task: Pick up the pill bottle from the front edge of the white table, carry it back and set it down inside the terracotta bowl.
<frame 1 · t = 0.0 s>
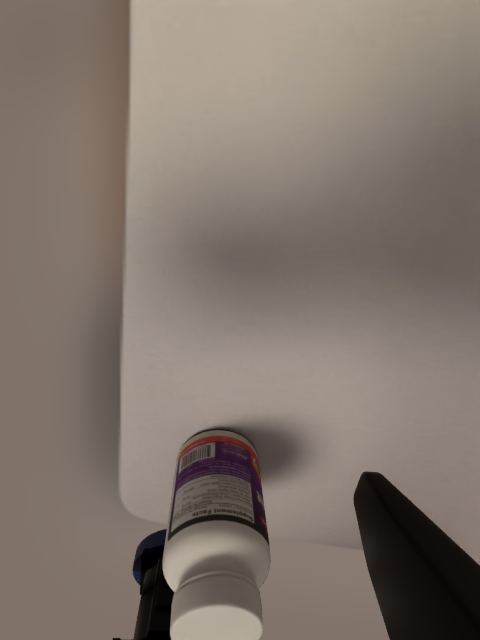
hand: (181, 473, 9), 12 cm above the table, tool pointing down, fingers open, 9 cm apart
pill bottle: (217, 456, 24), on the table
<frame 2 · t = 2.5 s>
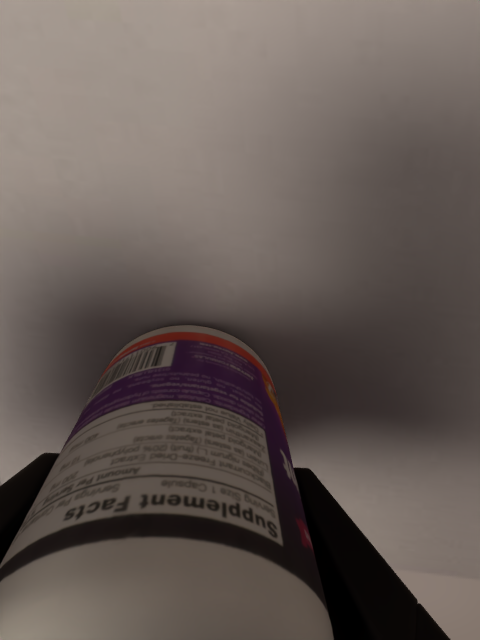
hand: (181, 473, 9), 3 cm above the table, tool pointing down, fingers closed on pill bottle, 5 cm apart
pill bottle: (191, 392, 12), on the table, touching gripper
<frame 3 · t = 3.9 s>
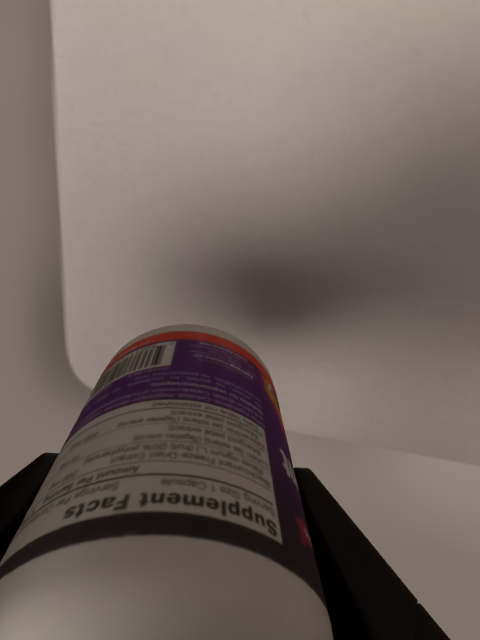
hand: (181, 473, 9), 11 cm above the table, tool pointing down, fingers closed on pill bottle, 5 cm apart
pill bottle: (190, 391, 12), point 8 cm above the table, touching gripper
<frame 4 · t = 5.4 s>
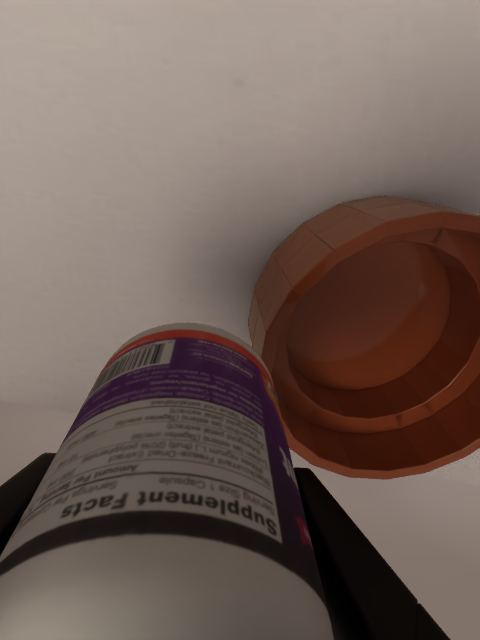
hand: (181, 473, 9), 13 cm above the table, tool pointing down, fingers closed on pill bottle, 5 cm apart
pill bottle: (190, 390, 12), point 9 cm above the table, touching gripper
bowl: (360, 314, 21), on the table
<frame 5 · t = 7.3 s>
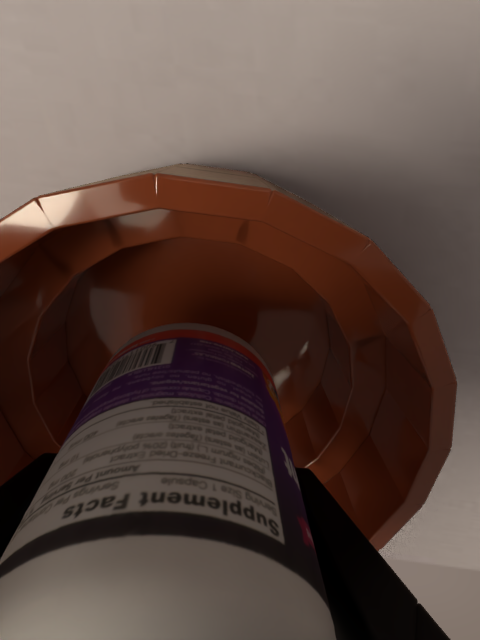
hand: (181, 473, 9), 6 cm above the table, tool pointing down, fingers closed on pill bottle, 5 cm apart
pill bottle: (191, 390, 12), point 3 cm above the table, touching gripper
bowl: (200, 345, 14), on the table
when the fingers open (4 cm above the table, at t = 8.6 s): pill bottle stays where it is, resting on bowl.
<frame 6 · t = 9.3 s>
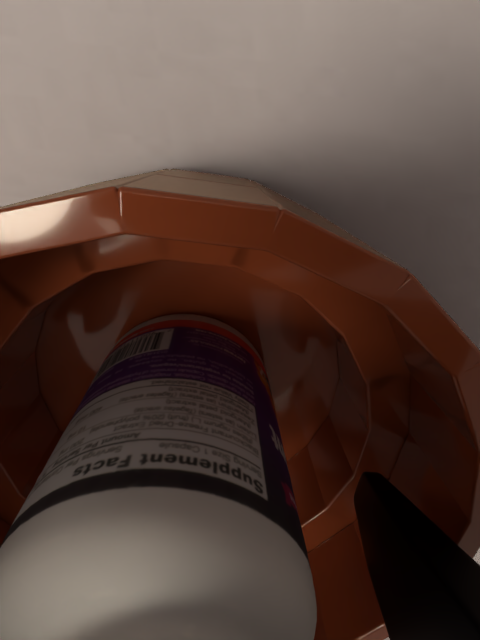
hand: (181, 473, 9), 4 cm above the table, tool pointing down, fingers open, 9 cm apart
pill bottle: (188, 379, 12), resting on bowl
bowl: (193, 374, 13), on the table
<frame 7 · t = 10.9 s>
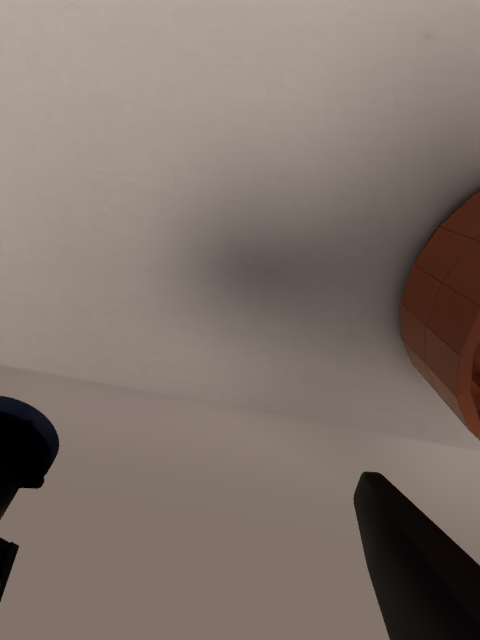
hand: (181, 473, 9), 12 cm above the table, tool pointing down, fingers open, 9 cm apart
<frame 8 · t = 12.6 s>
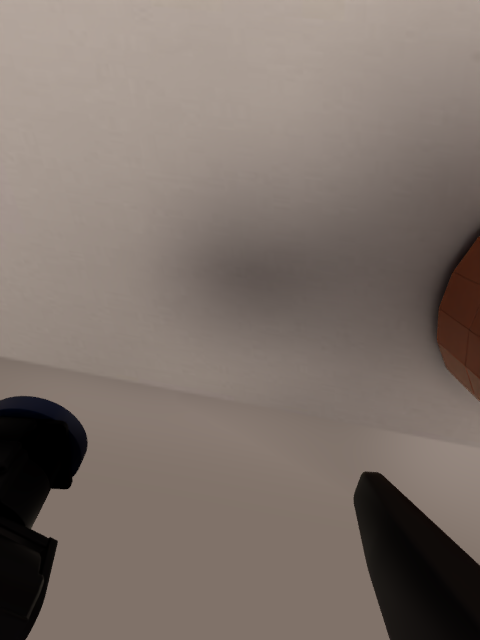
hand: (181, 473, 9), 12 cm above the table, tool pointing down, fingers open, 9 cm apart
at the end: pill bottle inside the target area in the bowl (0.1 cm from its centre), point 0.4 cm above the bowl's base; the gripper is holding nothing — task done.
